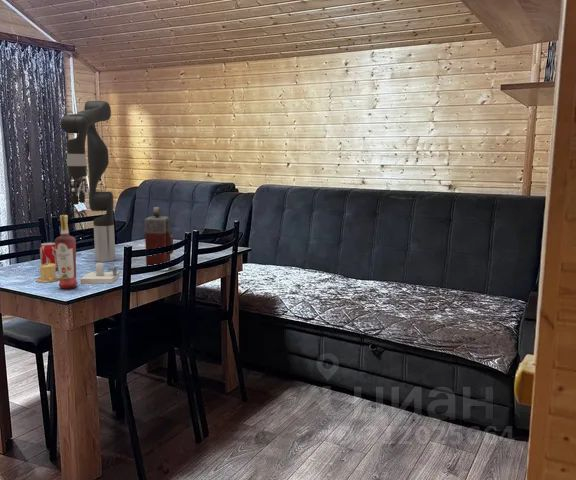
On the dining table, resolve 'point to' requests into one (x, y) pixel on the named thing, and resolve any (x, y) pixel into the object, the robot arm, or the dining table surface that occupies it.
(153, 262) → the glass decanter
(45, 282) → the coaster
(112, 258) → the robot arm
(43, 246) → the soda can
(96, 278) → the bayonet post
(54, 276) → the cap
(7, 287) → the dining table surface
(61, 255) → the liquor
